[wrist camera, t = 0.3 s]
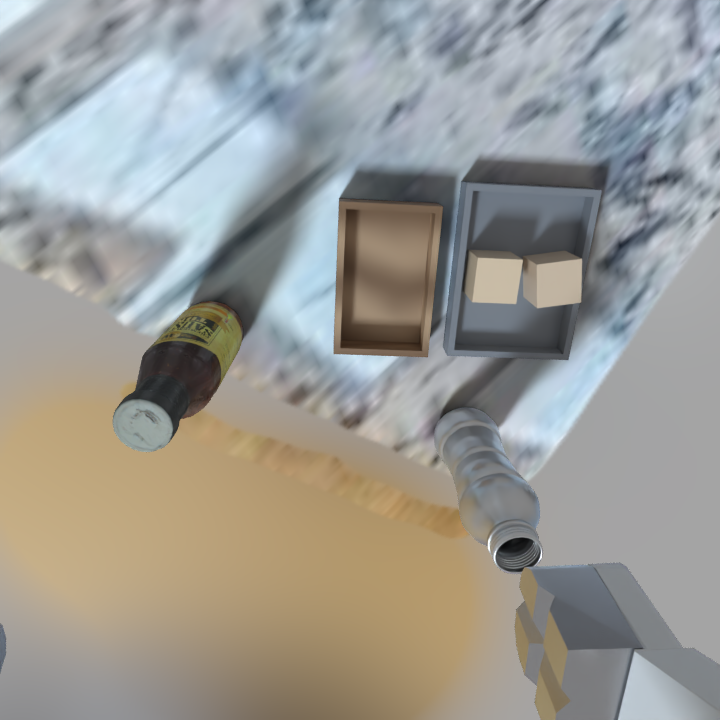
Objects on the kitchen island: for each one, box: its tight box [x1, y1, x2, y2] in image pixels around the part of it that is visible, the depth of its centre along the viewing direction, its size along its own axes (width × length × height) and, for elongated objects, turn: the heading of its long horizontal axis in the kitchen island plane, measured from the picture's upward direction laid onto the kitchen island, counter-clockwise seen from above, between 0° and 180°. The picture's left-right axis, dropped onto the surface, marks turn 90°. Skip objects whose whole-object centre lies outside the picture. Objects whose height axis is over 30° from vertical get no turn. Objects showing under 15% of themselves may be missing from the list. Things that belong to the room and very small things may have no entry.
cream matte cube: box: [463, 250, 523, 304], centre depth 52 cm, size 4×4×4 cm
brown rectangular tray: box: [334, 198, 443, 357], centre depth 53 cm, size 14×9×3 cm, turn 177°
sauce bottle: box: [113, 301, 243, 452], centre depth 46 cm, size 6×6×20 cm
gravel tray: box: [443, 181, 602, 360], centre depth 53 cm, size 16×12×2 cm
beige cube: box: [523, 251, 582, 308], centre depth 52 cm, size 4×4×4 cm
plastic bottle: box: [434, 407, 543, 574], centre depth 51 cm, size 6×7×20 cm
